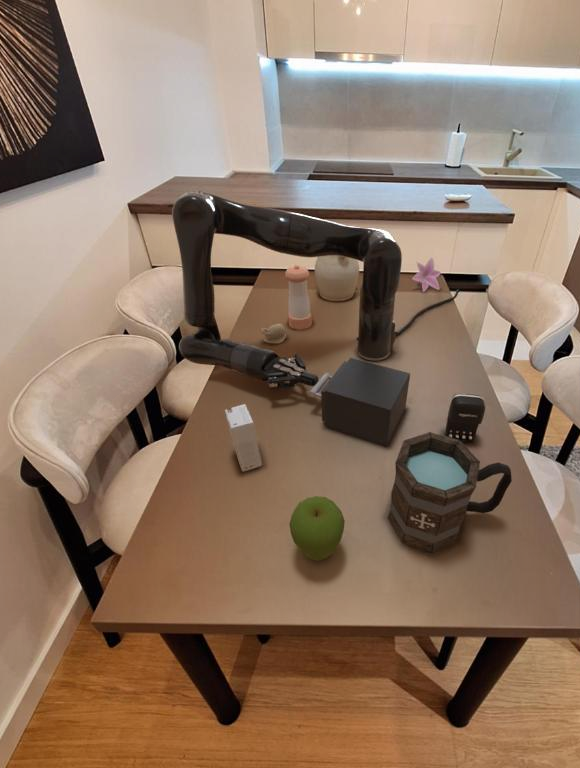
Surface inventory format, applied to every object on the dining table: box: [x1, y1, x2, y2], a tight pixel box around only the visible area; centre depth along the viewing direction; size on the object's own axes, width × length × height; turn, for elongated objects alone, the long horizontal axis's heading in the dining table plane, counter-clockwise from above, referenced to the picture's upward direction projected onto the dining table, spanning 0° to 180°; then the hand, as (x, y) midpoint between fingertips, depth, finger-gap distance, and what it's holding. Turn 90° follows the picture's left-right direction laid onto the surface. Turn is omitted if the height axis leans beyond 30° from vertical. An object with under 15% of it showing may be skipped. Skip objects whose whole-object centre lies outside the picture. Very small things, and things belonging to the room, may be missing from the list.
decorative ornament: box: [260, 323, 287, 345], centre depth 117 cm, size 4×8×5 cm, turn 129°
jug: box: [314, 222, 360, 302], centre depth 136 cm, size 15×16×25 cm
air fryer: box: [325, 357, 411, 447], centre depth 90 cm, size 15×14×11 cm
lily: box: [411, 257, 442, 293], centre depth 149 cm, size 12×12×10 cm
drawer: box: [308, 360, 348, 423], centre depth 91 cm, size 18×12×9 cm
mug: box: [387, 431, 513, 554], centre depth 68 cm, size 20×14×15 cm
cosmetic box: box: [224, 403, 263, 472], centre depth 78 cm, size 6×4×12 cm
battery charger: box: [443, 393, 486, 443], centre depth 85 cm, size 7×4×11 cm, turn 83°
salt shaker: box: [284, 264, 313, 331], centre depth 120 cm, size 7×7×19 cm
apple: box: [288, 495, 345, 561], centre depth 63 cm, size 9×8×12 cm
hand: (316, 381), depth 93 cm, fingers closed
